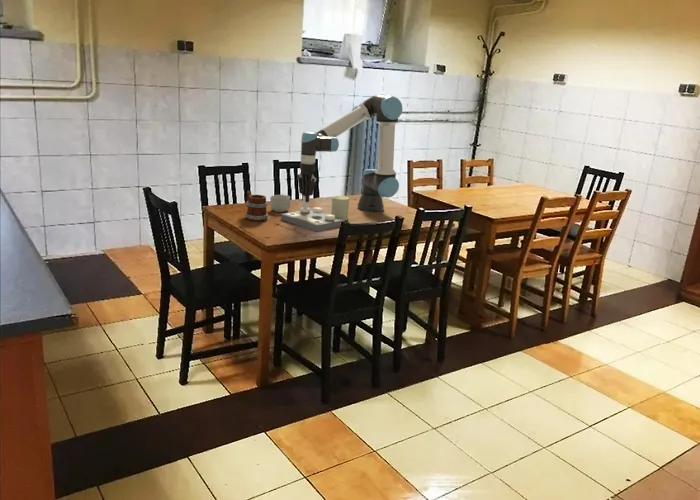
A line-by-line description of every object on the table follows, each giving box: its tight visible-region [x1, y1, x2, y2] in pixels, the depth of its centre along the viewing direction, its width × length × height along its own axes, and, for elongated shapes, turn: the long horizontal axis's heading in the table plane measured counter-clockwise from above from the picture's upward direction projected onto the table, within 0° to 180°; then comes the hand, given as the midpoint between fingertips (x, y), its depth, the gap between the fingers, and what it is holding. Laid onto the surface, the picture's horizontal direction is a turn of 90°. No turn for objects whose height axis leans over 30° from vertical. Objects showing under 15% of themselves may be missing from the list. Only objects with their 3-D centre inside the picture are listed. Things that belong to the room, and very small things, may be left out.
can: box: [330, 195, 350, 221], centre depth 314 cm, size 9×9×12 cm
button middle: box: [312, 206, 323, 213], centre depth 305 cm, size 5×5×2 cm
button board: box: [280, 208, 346, 232], centre depth 304 cm, size 20×26×3 cm
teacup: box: [269, 194, 291, 213], centre depth 323 cm, size 14×11×8 cm
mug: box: [244, 190, 269, 223], centre depth 301 cm, size 12×14×15 cm
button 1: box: [299, 207, 311, 213], centre depth 311 cm, size 5×5×2 cm
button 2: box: [325, 213, 335, 221], centre depth 300 cm, size 5×5×2 cm
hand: (305, 207), depth 310 cm, fingers closed
